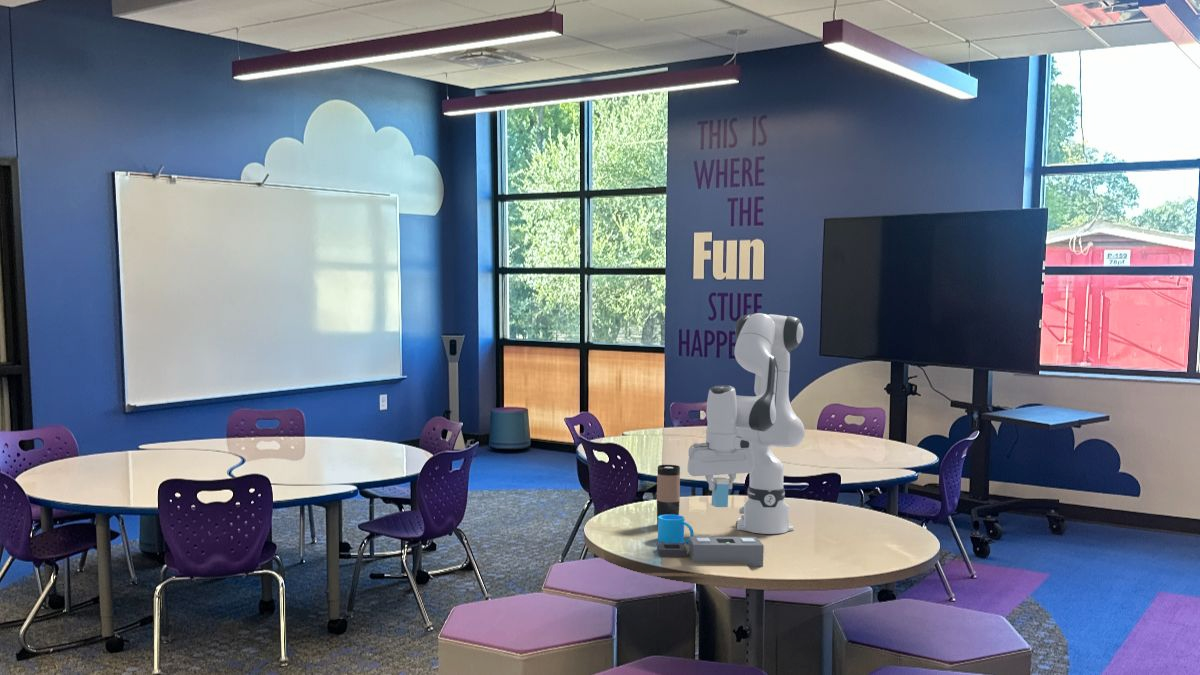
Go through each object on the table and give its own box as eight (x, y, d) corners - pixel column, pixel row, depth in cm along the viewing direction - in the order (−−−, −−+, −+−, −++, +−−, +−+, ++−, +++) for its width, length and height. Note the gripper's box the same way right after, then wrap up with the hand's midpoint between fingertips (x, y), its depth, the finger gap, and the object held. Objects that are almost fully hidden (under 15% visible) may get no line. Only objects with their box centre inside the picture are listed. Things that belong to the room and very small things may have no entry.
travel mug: (680, 523, 327) (681, 465, 327) (678, 528, 320) (679, 468, 319) (657, 522, 329) (658, 464, 328) (655, 527, 321) (656, 467, 321)
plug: (711, 504, 281) (712, 477, 281) (723, 504, 282) (724, 477, 282) (715, 507, 278) (717, 479, 278) (727, 507, 279) (729, 479, 279)
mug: (652, 543, 299) (653, 517, 299) (666, 538, 306) (666, 513, 306) (686, 549, 293) (687, 523, 292) (699, 544, 299) (700, 518, 299)
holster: (656, 553, 288) (657, 543, 288) (683, 553, 288) (683, 543, 288) (659, 560, 280) (659, 549, 280) (687, 560, 280) (687, 550, 280)
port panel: (688, 556, 284) (689, 535, 284) (756, 557, 285) (756, 535, 285) (693, 565, 274) (693, 543, 274) (763, 566, 275) (763, 543, 275)
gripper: (693, 445, 273) (693, 493, 273) (757, 442, 280) (756, 489, 280) (684, 442, 278) (683, 489, 279) (746, 439, 286) (745, 485, 286)
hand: (720, 489), depth 280 cm, fingers closed on plug, 4 cm apart
